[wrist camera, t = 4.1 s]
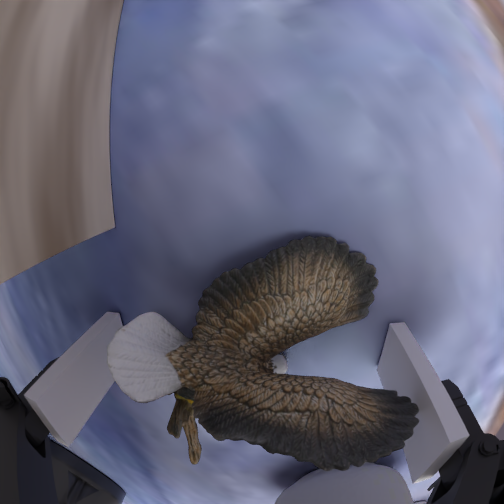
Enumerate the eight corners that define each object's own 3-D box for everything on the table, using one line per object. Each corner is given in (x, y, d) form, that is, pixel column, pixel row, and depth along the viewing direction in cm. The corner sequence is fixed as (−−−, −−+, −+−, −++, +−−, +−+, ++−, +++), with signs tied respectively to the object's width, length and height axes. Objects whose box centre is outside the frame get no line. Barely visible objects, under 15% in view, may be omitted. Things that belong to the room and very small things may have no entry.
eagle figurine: (241, 432, 12) (419, 398, 8) (137, 491, 6) (428, 511, 2) (203, 299, 14) (366, 230, 11) (81, 294, 8) (323, 145, 5)
